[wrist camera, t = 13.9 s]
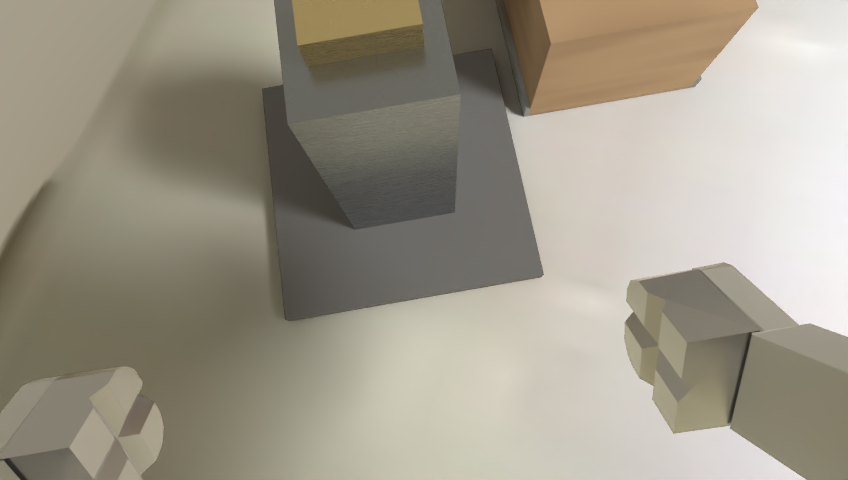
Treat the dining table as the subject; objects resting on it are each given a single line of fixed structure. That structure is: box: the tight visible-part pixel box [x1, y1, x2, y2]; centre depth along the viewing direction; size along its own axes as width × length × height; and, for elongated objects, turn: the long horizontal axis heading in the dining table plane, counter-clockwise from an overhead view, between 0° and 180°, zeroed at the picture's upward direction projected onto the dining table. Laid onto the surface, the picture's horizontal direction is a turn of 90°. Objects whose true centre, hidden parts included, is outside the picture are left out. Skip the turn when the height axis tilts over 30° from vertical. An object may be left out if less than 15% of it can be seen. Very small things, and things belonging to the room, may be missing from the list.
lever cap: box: [274, 0, 461, 230], centre depth 16 cm, size 4×4×10 cm
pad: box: [262, 49, 544, 321], centre depth 21 cm, size 10×10×1 cm
